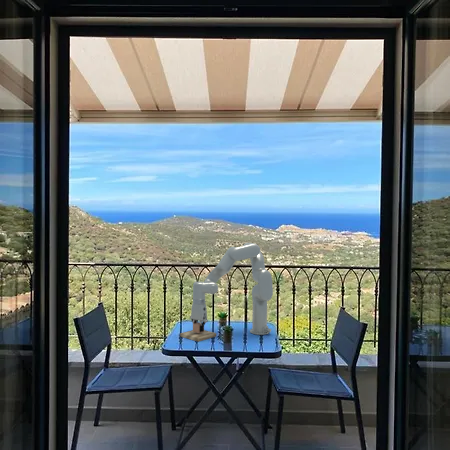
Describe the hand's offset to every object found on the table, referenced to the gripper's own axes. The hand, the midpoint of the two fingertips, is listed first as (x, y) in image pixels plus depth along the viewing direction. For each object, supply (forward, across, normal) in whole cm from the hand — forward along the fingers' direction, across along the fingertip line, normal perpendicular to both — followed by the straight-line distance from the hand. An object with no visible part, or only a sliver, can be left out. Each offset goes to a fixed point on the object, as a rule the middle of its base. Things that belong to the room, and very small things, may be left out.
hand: (198, 330), depth 247 cm
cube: (+1, 0, 0) cm, 1 cm away
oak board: (+4, 0, 0) cm, 4 cm away
